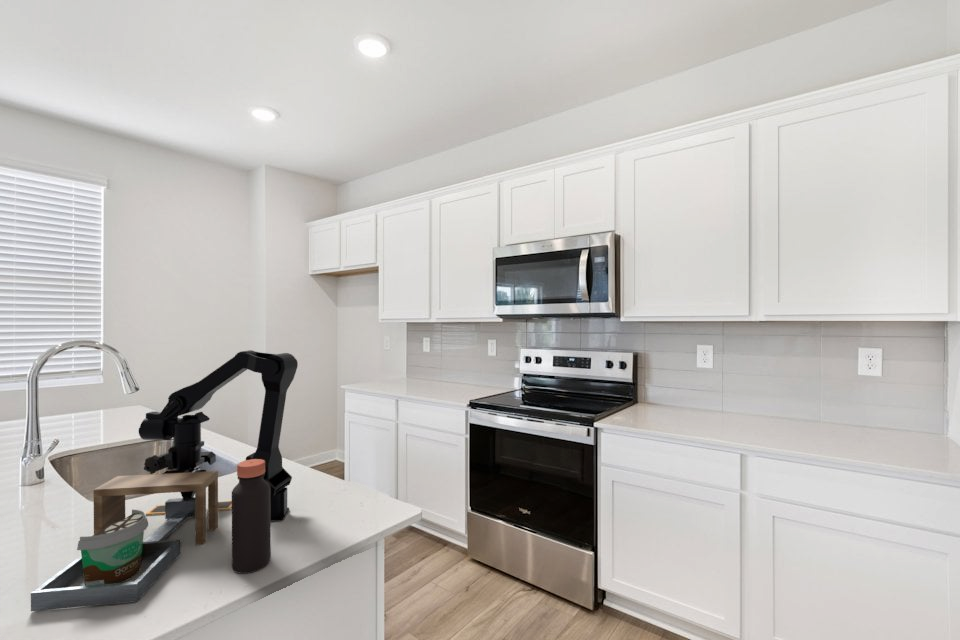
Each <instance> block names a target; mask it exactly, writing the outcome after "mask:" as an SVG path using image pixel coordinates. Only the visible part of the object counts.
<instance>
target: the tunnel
mask: <svg viewBox="0 0 960 640" xmlns="http://www.w3.org/2000/svg"><path fill="white" fill-rule="evenodd" d="M189 491H195V495H194V497H195V517H194V518H195V519H194V520H195V521H194V523H195V524H194V525H195V528H194V529H195V533H194V534H195V539H194V540H195V542H194V543H195V544H194V545H195V546H200V545H204V544H205V543H206V542H207V532H211V531H216V530H217V529H218V528H219V511H218V502H219V471H218V470H212V471H206V472H188V473H169V474H162V473H156V474H155V473H153V474H150V473H149V474H136V475H135V474H133V475H117V476H115V477H113V478H112V479H110V480H108V481H106V482H105V483H103V484H101V485H100V486H98V487H97V486H96V488H94V489H93V535H95V534H96V533H98V532H99V531H101V530H102V529H103V528H105V527H106V526H108V525H110V524H112V523H115V522H118V521H121V520H123V519H125V518H126V496H131V495H133V496H134V495H150V494H151V495H153V494H170V493H181V492H189ZM207 511H208V512H207ZM207 515H208V516H207ZM207 523H208V524H207ZM207 525H208V529H207ZM207 530H208V531H207Z"/></svg>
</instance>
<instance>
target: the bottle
mask: <svg viewBox="0 0 960 640" xmlns="http://www.w3.org/2000/svg"><path fill="white" fill-rule="evenodd" d="M236 466H237V467H236V470H237V471H236V477H237V478H236V479H237V480H238V483H237V484H236V485H235V487H233V489H232V491H231V501H232V508H231V568H232V570H233V571H234V572H235V573H239V574H249V573H253V572H258V571H259V570H262V569H263V568H265V567H266V566H267V565H269V564H270V562H271V557H272V556H271V555H272V554H271V553H272V552H271V549H272V547H271V544H272V543H271V534H272V533H271V523H272V521H271V517H270V485H269V483H268V482H266V481H265V480H264V479H263V476H264V475H265V460H262V459H251V460H246V459H245V460H243V461H240V462H239V463H237V464H236Z"/></svg>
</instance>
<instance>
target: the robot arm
mask: <svg viewBox="0 0 960 640" xmlns="http://www.w3.org/2000/svg"><path fill="white" fill-rule="evenodd" d="M297 369H298V360H297V358H296V357H295V356H294V355H293V354H291V353H289V352H284V353H269V352H260V351H255V350H249V349H248V350H244V351H239V352H237V353H236V354H235V356H232V358H230V359H229V360H227V361H226V362H225V363H223V364H222V365H220V366H219V367H218V368H216V369H215V370H212V372H211V373H209V374H207V375H206V376H205V377H203V378H202V379H201V380H199V381H197V382H195V383H193V384H190V385H188V386H185V387H183V388H180V389H177V390H175V391H174V392H172V393H171V394H170V395H169V396H168V398H167V400H168V401H167V404H166V405H165V406H164V408H163V409H162V410H161V411H160V412H159V411H150V412H146V413H145V418H144V419H143V420H142V422H141V423H140V426H139V428H138V436H139V437H140V438H141V439H142V440H144V441H169V440H173V442H172V443H173V445H172V446H171V447H169V448H168V451H167V452H164V453H162V454H159V455H156V454H154V455H151V456H149V457H147V458H145V459H144V460H145V461H144V463H143V465H144V467H143V470H144V471H146V472H148V473H149V474H155V473H156V472H158V471H162V470H164V469H166V468H167V470H165V471H164V472H163V473H161V474H169V473H188V472H207V470H206V469H201V467H200V466H201V465H203V464H205V463H208V465H209V466H212V465H214V464H215V463H216V462H217V457H216V455H217V454H216V453H214V452H213V451H202V447H203V446H205V440H202V434H201V433H202V424H203V423H205V422H208V421H210V418H211V417H209V416H208V415H207V414H205V413H203V411H199V412H196V413H194V414H189V413H193V412H195V411H198V410H200V409H202V408H204V407H205V406H206V404H207V403H209V401H210V400H212V397H213V396H214V395H215V393H216V392H218V391H219V390H220V389H222V388H223V387H225V386H226V385H227V384H229V383H230V382H232V381H233V380H234V379H236V378H237V377H239V376H240V375H242V374H243V373H244V372H246V371H247V370H248V371H251V372H254V373H258V374H261V382H262V385H263V387H264V390H265V393H264V399H263V406H262V412H261V413H262V414H261V418H260V419H261V420H260V427H259V433H258V440H257V447H256V450H255V452H253V453H251V454H249V455H247V456H246V457H245V460H251V459H262V460H265V475H264V476H263V479H264V480H265V481H266V482H268V483H269V485H270V517H271V522H278V521H279V522H280V521H283V520H285V518H286V517H287V515H288V512H289V511H290V507H288V486H290V484H291V482H292V479H293V477H292V475H291V474H290V473H289V472H288V471H287V470H286V469H285V468H284V466H283V456H282V454H281V453H282V452H281V449H280V447H279V445H280V438H281V432H282V425H283V424H282V423H283V419H284V418H283V417H284V413H285V412H284V411H285V406H286V405H285V404H286V398H287V392H288V389H289V387H290V386H291V384H292V382H293V381H294V379H295V375H296V372H297ZM179 416H181V417H179ZM174 469H175V470H174ZM180 494H181V498H193V497H195V491H189V492H180Z"/></svg>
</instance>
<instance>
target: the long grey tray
mask: <svg viewBox="0 0 960 640" xmlns="http://www.w3.org/2000/svg"><path fill="white" fill-rule="evenodd" d="M164 505H165V514H164V517H165V520H166V521H165V522H164V523H163V524H161V525H160V526H159V527H158V528H157V529H156V530H155V531H153V532H152V533H151V534H150V535H149V536H148V537H146V538H145V539H143V546H142V557H141V560H143V559H144V560H145V559H155V560H154V561H153V563H151V565H149V566H148V567H147V568H146V570H145V571H144V572H143V573H141V574H140V575H139V576H138V577H137V578H136V579H135V580H134V581H129V582H128V581H124V582H122V583H113V584H101V585H90V586H85V585H82V586H69V585H71V584H72V583H73V582H74V581H75V580H77V579H78V578H79V577H80V576H82V575H84V574H83V565H82V556H81V555H79V557H77V558H76V559H74V560H73V561H72V562H71V563H69V564H68V565H67V566H65V567H63V569H61V570H60V571H58V572H57V573H56V574H55V575H53V576H51V577H50V578H49V579H47V580H46V581H45V582H43V584H41V585H40V586H39V587H37V588H36V589H35V590H33V591H31V592H30V612H37V611H38V612H39V611H40V612H41V611H49V610H59V609H61V610H62V609H72V608H80V607H81V608H82V607H91V606H102V605H103V606H105V605H113V604H124V603H125V604H126V603H134V602H135V603H136V602H138V601H139V600H140V599H141V598H142V597H143V595H144V594H145V593H146V592H147V591H149V589H150V588H151V587H152V586H153V585H154V584H155V583H156V582H157V581H158V579H159V578H160V577H161V576H162V575H163V574H164V573H165V572H166V571H167V570H168V569H169V568H170V567H171V565H172V564H173V563H174V562H176V561H177V559H178V558H179V557H180V556H181V555H182V539H178V538H177V539H167V538H168V537H169V536H170V535H172V533H173V532H174V531H176V530H177V529H178V528H179V527H180V526H181V525H182V524H183V523H184V522H185V521H186V520H187V519H188V518H195V496H194V497H193V498H183V497H179V498H177V497H176V498H168V499H167V500H166V501H165V502H164Z"/></svg>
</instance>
